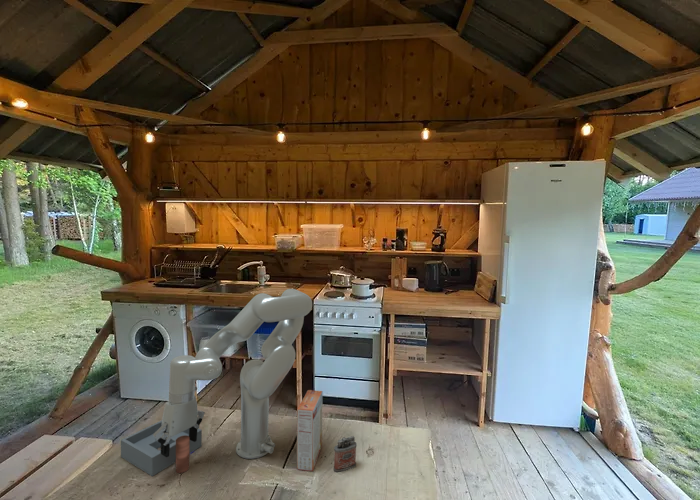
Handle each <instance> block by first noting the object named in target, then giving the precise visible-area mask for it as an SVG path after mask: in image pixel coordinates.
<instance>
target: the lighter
mask: <svg viewBox="0 0 700 500" xmlns="http://www.w3.org/2000/svg"><path fill="white" fill-rule="evenodd" d="M355 438H356V437H355V436H354V435H352V436H348V437H345V436H344V437H342V438H341V439H338V440H337V444H336V445H335V446H333V451H334V454H333V455H334V459H333V462H334V463H333V472H334V473H337V474H339V473H344V472H348V471H349V470H353V469H354V468H355V467H356V466H357V461H356V457H357V456H356V455H357V442H356V441H355V440H356V439H355Z"/></svg>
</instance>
